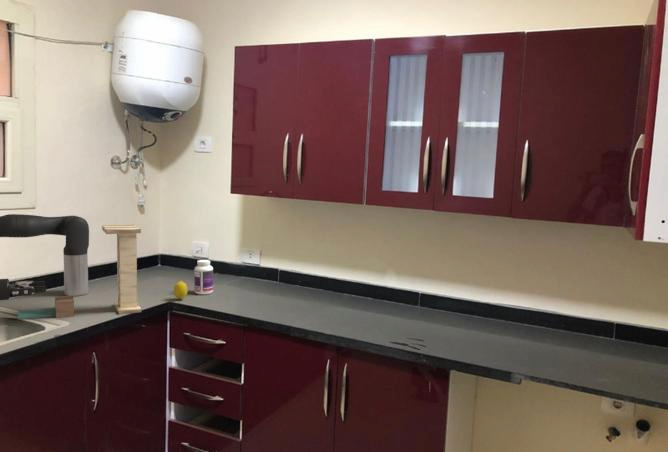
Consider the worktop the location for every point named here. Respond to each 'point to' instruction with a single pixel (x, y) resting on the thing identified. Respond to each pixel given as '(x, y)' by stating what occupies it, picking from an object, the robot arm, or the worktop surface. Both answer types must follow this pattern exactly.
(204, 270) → the pill bottle
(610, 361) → the worktop surface
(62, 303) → the mallet
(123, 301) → the stand
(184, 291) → the lemon
